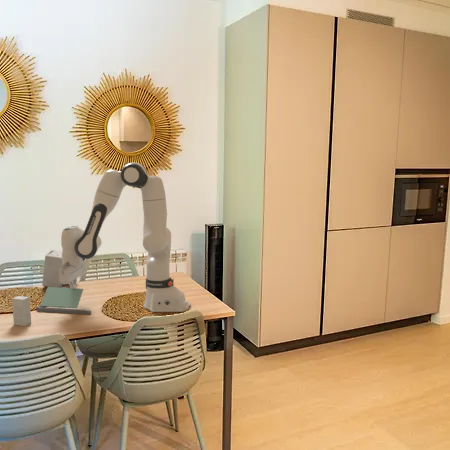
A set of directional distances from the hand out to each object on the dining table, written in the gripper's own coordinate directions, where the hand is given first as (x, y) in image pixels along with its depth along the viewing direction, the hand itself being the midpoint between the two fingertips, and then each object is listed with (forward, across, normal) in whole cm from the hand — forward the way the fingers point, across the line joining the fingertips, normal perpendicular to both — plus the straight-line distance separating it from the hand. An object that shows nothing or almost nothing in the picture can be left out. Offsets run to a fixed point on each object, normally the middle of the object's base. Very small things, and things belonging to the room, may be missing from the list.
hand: (73, 288), depth 225 cm
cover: (+4, -3, +4) cm, 7 cm away
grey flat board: (+10, -3, +2) cm, 10 cm away
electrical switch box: (+10, +35, +24) cm, 43 cm away
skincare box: (+10, -24, +12) cm, 29 cm away
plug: (+10, +6, +8) cm, 14 cm away
